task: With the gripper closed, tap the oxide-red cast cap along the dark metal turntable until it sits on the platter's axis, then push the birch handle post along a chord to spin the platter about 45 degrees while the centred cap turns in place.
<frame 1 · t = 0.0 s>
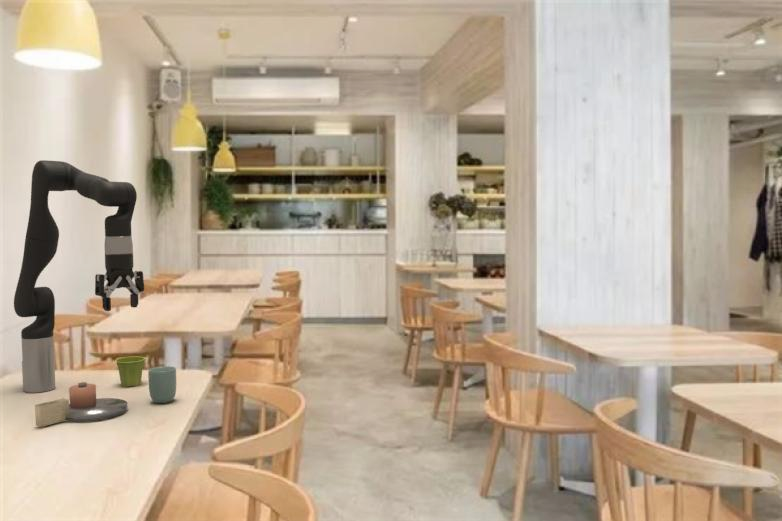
hand: (120, 308, 201), 29 cm above the table, fingers open, 8 cm apart
platter: (81, 405, 196), point 3 cm above the table, hinge at 0.0°, touching cast cap
plant pot: (131, 385, 233), on the table
cup: (163, 402, 211), on the table
cast cap: (83, 403, 202), point 2 cm above the table, touching platter
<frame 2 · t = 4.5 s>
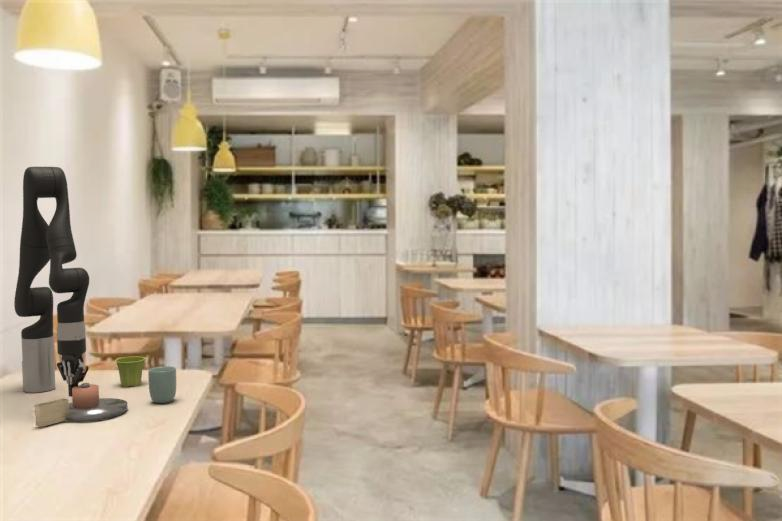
hand: (73, 396, 204), 4 cm above the table, fingers closed
cast cap: (86, 404, 201), point 2 cm above the table, touching gripper, platter
everything else where it was.
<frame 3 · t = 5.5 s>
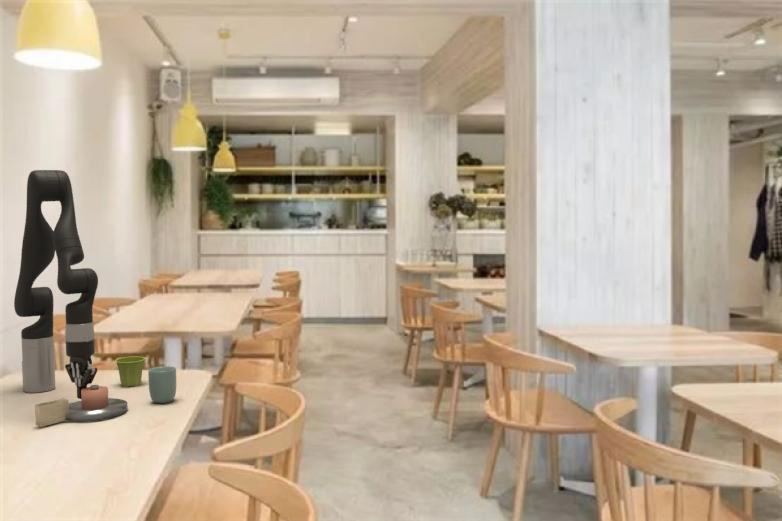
hand: (82, 398, 202), 4 cm above the table, fingers closed
cast cap: (95, 406, 199), point 2 cm above the table, touching gripper, platter
everything else where it was.
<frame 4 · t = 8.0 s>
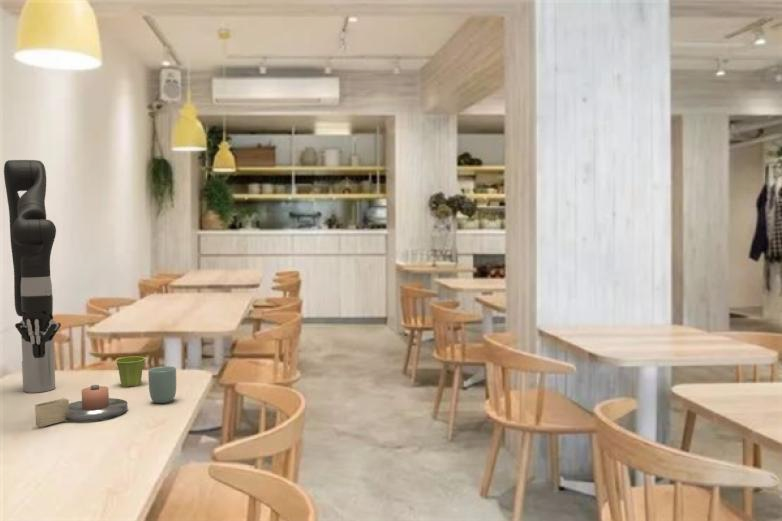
hand: (39, 357, 190), 18 cm above the table, fingers closed
cast cap: (95, 406, 198), point 2 cm above the table, touching platter
everything else where it was.
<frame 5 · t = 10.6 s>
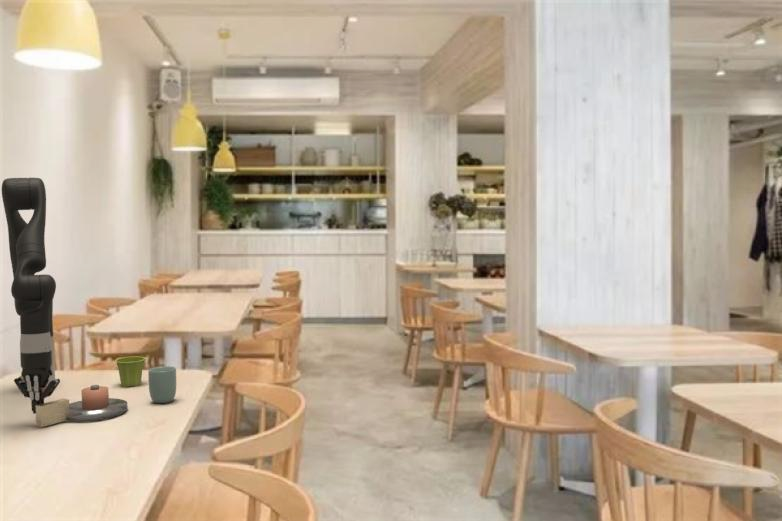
hand: (38, 412, 189), 3 cm above the table, fingers closed
platter: (81, 405, 196), point 3 cm above the table, hinge at 1.2°, touching cast cap, gripper
everything else where it was.
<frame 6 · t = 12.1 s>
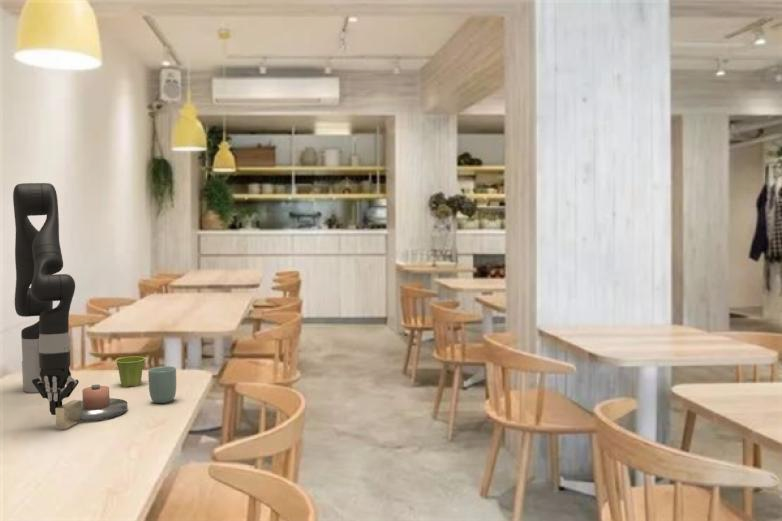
hand: (56, 414, 187), 3 cm above the table, fingers closed
platter: (86, 405, 195), point 3 cm above the table, hinge at 27.7°, touching cast cap, gripper
everything else where it was.
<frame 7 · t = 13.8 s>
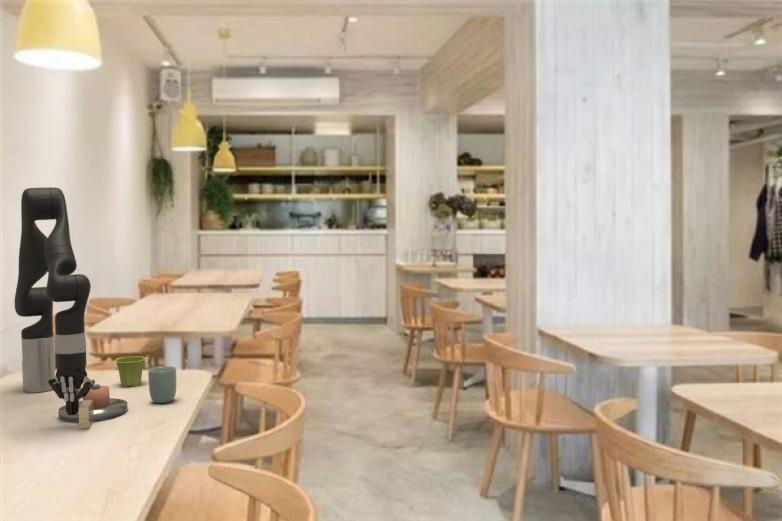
hand: (72, 414, 187), 3 cm above the table, fingers closed
platter: (91, 405, 195), point 3 cm above the table, hinge at 49.3°, touching cast cap, gripper
everything else where it was.
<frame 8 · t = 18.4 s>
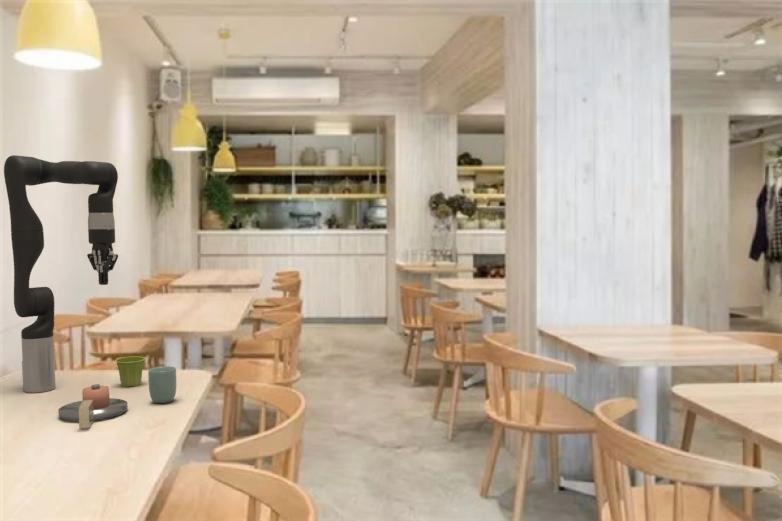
hand: (103, 284, 215), 35 cm above the table, fingers closed
platter: (91, 405, 195), point 3 cm above the table, hinge at 49.5°, touching cast cap
everything else where it was.
at the end: cast cap 0.7 cm from the platter (horizontally); platter at +50° (first picture: +0°); cast cap tilted 0° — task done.
